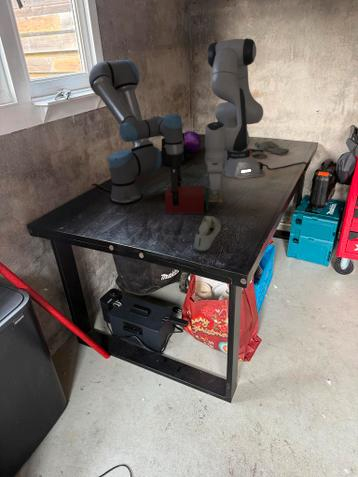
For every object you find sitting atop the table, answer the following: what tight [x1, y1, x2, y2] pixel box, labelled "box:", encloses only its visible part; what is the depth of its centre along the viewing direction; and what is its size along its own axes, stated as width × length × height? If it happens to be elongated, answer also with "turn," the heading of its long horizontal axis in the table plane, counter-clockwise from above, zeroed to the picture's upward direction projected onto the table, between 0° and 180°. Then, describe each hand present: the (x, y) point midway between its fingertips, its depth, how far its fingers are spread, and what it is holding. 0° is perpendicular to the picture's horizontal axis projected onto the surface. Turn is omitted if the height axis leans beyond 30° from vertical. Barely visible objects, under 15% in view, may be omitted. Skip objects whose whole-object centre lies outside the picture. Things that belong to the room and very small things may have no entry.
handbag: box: [160, 132, 188, 167], centre depth 211 cm, size 21×9×25 cm, turn 148°
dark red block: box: [164, 185, 205, 215], centre depth 152 cm, size 17×11×9 cm, turn 85°
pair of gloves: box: [247, 140, 290, 159], centre depth 223 cm, size 30×26×5 cm
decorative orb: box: [183, 130, 202, 154], centre depth 230 cm, size 15×15×15 cm
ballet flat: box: [193, 215, 222, 253], centre depth 127 cm, size 8×24×8 cm, turn 163°
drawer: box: [205, 187, 223, 212], centre depth 151 cm, size 22×10×7 cm, turn 85°
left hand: (177, 199), depth 152 cm, fingers closed on dark red block, 11 cm apart
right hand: (214, 192), depth 148 cm, fingers closed
